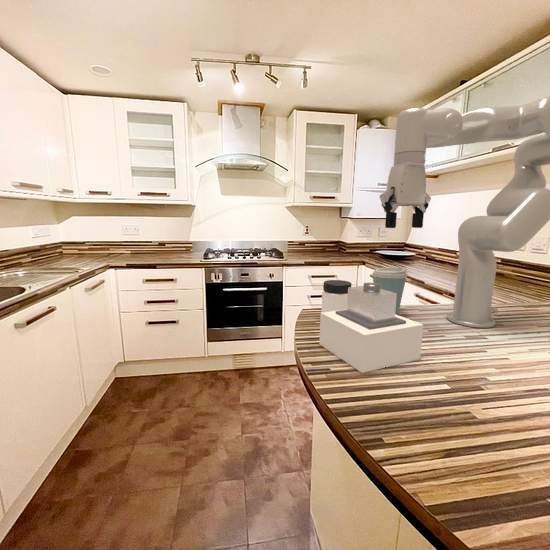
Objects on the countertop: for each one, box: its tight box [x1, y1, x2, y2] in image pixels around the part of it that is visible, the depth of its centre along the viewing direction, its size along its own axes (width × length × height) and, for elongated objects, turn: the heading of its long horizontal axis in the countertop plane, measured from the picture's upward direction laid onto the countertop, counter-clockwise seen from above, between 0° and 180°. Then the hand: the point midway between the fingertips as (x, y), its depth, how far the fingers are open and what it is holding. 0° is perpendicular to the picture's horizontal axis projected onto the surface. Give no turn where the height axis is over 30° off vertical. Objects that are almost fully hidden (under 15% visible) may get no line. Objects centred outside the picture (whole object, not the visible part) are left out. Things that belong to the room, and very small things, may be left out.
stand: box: [318, 309, 424, 374], centre depth 72 cm, size 16×16×9 cm
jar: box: [321, 279, 353, 313], centre depth 93 cm, size 9×8×12 cm
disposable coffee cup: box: [372, 267, 408, 315], centre depth 101 cm, size 11×11×15 cm
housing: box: [347, 282, 397, 323], centre depth 71 cm, size 6×9×7 cm, turn 25°
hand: (403, 227), depth 84 cm, fingers open, 9 cm apart
